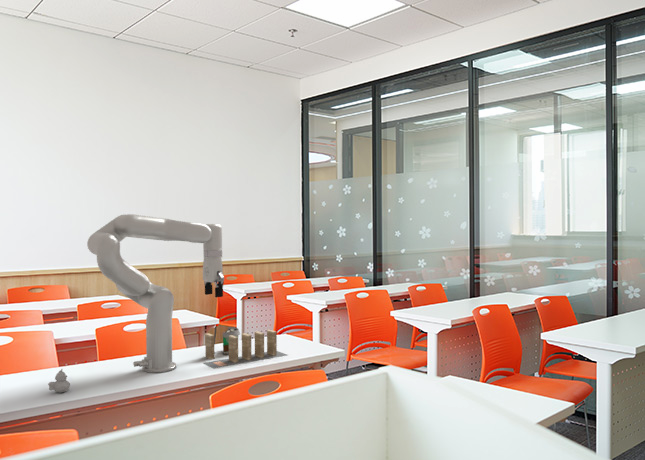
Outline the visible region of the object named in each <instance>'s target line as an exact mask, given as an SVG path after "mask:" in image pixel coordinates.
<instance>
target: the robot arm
mask: <svg viewBox="0 0 645 460" xmlns="http://www.w3.org/2000/svg"><path fill="white" fill-rule="evenodd" d="M222 229H223V227H222V225H221V224H219V223H207V224H204V223H197V222H191V221H190V222H189V221H181V220H175V219H169V218H164V217H154V216H146V215H139V214H130V213H129V214H128V213H127V214H121V215H117V216H116V217H115V218H114V219H112V220H110V221H109V222H108V223H106V224H105V225H103V226H102V227H100V228H99V229H98V230H96V231H95V232H94V233H92V234H91V235H90V236H89V237H88V239H87V243H86V244H87V249H88V250H89V252H90V253H91V254H93V255H95V256H96V263H97V266H98V270H99V271H100V272H101V273H102V275H103V276H105V278H107V279H108V280H110V281H111V282H113V283H114V284H115V287H116V289H117V290H118V291H119V292H120V293H121V294H122V295H124V297H125V296H126V297H127V298H128V299H130V300H132V301H133V302H134V303H136V304H138V305H139V306H141V307H143V308H146V309H147V313H146V314H147V315H146V319H145V320H146V321H145V331H146V332H145V333H146V334H145V336H146V338H145V339H146V342H145V343H146V345H145V347H146V356H144V357H143V359H141V360H137V361H133V363H132V364H133V367H139V368H142V371H143V372H146V373H156V374H157V373H165V372H170V371H172V370H175V369H176V368H177V363H176V362H174V361H173V310H174V304H175V303H174V302H175V298H174V297H175V296H174V294H173V293H172V291H171V290H170V289H168V287H166V286H161V285H156V284H155V283H152V282H151V281H150V279H149V277H148V276H147V275H146V274H145V273H144V272H142V271H140V270H139V269H137V268H136V267H134V266H133V265H131V264H130V263H128V262H127V261H126V260H125V259H123V257H122V255H121V242H122V241H123V240H124V239H126V238H135V239H136V238H137V239H146V240H153V241H167V242H169V241H170V242H171V241H172V242H174V241H176V242H177V241H179V242H188V243H192V244H193V243H194V244H203V261H202V280H203V281H204V283H203V284H204V295H206V296H207V295H213V284H212V283H214V286H215V287H214V297H215V298H223V297H224V284H225V283H224V281H225V276H224V271H223V270H224V269H223V268H224V266H223V261H222V260H223V259H222V258H223V232H222V231H223V230H222Z"/></svg>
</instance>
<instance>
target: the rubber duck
mask: <svg viewBox="0 0 645 460" xmlns="http://www.w3.org/2000/svg"><path fill="white" fill-rule="evenodd" d="M67 377H68V375H66V373H65V372H64V371H63V368H61V369H60V370H59V371H58V372H57V373H56V375H55V377H54V380H55V381H50V382H48V383H47V384H48V387H49V388H48V390H49V391H54V392H55V393H59V394H62V393H64V392H67V391H68V390H69V389H70V386H71V383H70V381H69V380H67Z"/></svg>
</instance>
